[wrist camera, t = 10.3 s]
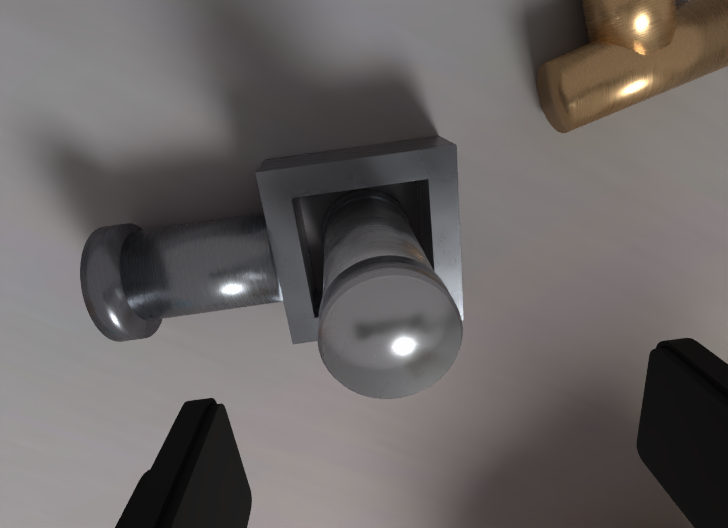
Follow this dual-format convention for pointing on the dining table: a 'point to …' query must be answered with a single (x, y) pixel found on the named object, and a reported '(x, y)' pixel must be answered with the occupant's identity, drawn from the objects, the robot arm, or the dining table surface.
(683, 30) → the bronze tee
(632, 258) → the dining table surface
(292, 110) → the dining table surface
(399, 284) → the silver capped cylinder
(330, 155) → the grey framed piece
